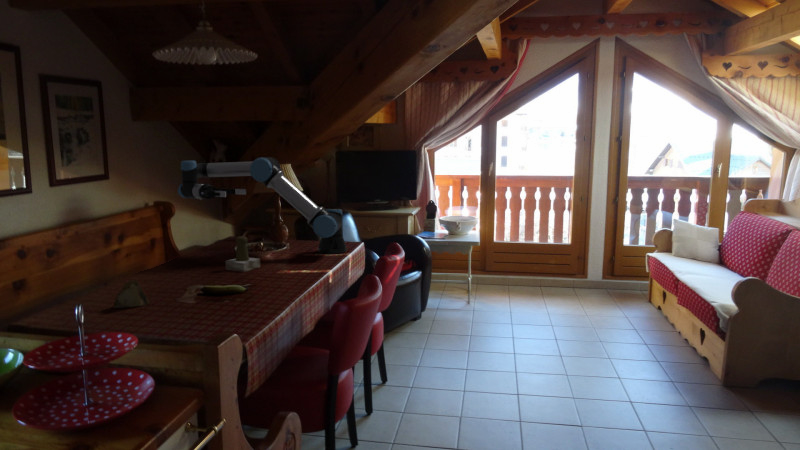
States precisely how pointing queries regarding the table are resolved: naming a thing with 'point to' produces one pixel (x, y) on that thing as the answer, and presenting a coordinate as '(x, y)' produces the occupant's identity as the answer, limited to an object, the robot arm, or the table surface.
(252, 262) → the white stand
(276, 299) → the table surface
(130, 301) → the rock
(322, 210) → the robot arm
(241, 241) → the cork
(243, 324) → the table surface
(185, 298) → the brown green uneven piece
